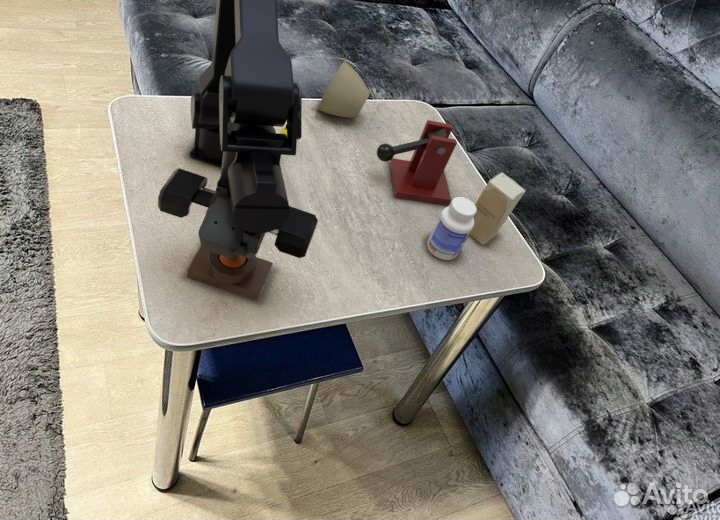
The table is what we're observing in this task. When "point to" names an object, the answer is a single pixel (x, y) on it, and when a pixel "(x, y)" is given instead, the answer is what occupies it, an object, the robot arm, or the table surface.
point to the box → (495, 207)
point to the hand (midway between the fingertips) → (232, 256)
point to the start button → (232, 262)
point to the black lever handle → (405, 146)
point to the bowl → (344, 93)
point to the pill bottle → (452, 229)
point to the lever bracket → (425, 168)
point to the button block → (231, 274)
